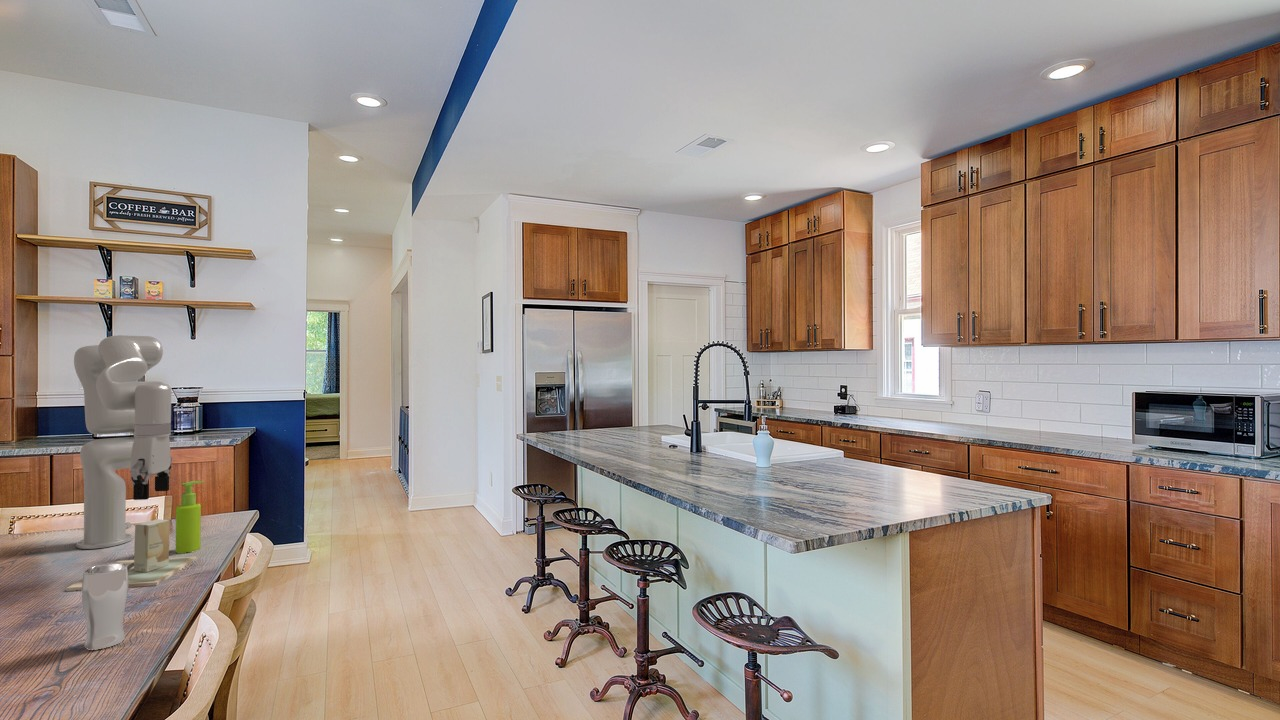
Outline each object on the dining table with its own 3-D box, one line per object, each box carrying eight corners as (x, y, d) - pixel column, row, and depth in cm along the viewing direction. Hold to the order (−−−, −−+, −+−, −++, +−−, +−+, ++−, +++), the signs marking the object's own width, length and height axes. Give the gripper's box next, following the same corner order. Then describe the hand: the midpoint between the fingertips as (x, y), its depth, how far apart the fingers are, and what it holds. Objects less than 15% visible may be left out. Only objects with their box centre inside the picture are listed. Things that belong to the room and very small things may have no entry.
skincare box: (146, 572, 157) (147, 525, 157) (132, 571, 158) (133, 524, 158) (170, 564, 163) (170, 519, 163) (157, 563, 164) (157, 518, 164)
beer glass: (100, 636, 124) (100, 562, 124) (136, 635, 124) (137, 561, 124) (71, 652, 117) (71, 574, 117) (110, 651, 117) (110, 573, 117)
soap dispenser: (208, 547, 181) (209, 480, 181) (184, 554, 175) (185, 485, 175) (194, 545, 183) (195, 479, 183) (170, 552, 177) (171, 483, 177)
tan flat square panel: (117, 563, 166) (117, 560, 166) (196, 559, 171) (196, 555, 171) (66, 591, 147) (66, 587, 147) (156, 585, 151) (156, 581, 151)
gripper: (154, 426, 168) (153, 488, 168) (115, 434, 151) (114, 503, 151) (185, 426, 170) (184, 487, 170) (150, 434, 153) (149, 502, 153)
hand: (151, 495), depth 161 cm, fingers open, 9 cm apart
